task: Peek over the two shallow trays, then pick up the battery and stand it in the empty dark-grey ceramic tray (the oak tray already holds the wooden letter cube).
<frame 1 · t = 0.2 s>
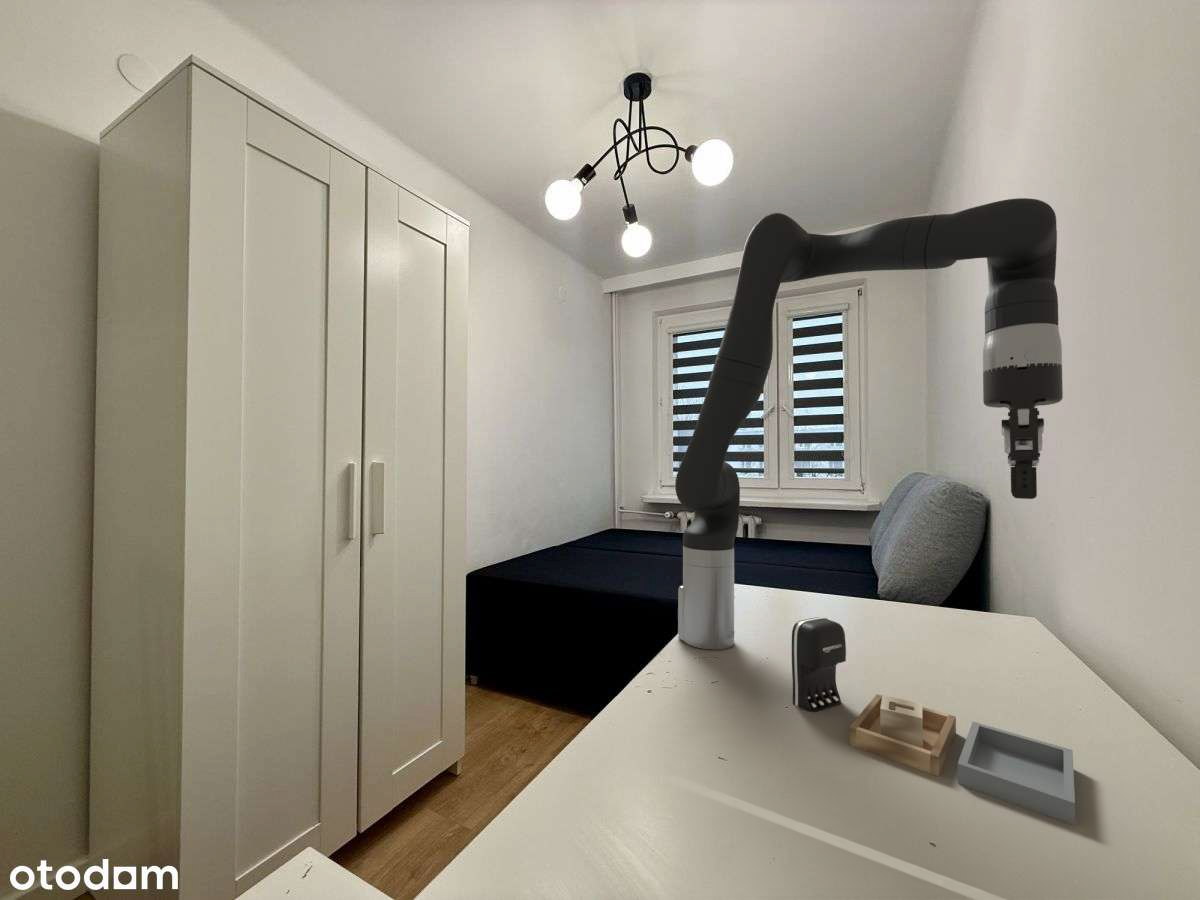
hand: (1023, 496, 61), 28 cm above the table, fingers open, 8 cm apart
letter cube: (901, 741, 56), point 1 cm above the table, touching oak tray
oak tray: (904, 743, 57), on the table
slate tray: (1017, 781, 50), on the table
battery: (820, 710, 65), on the table
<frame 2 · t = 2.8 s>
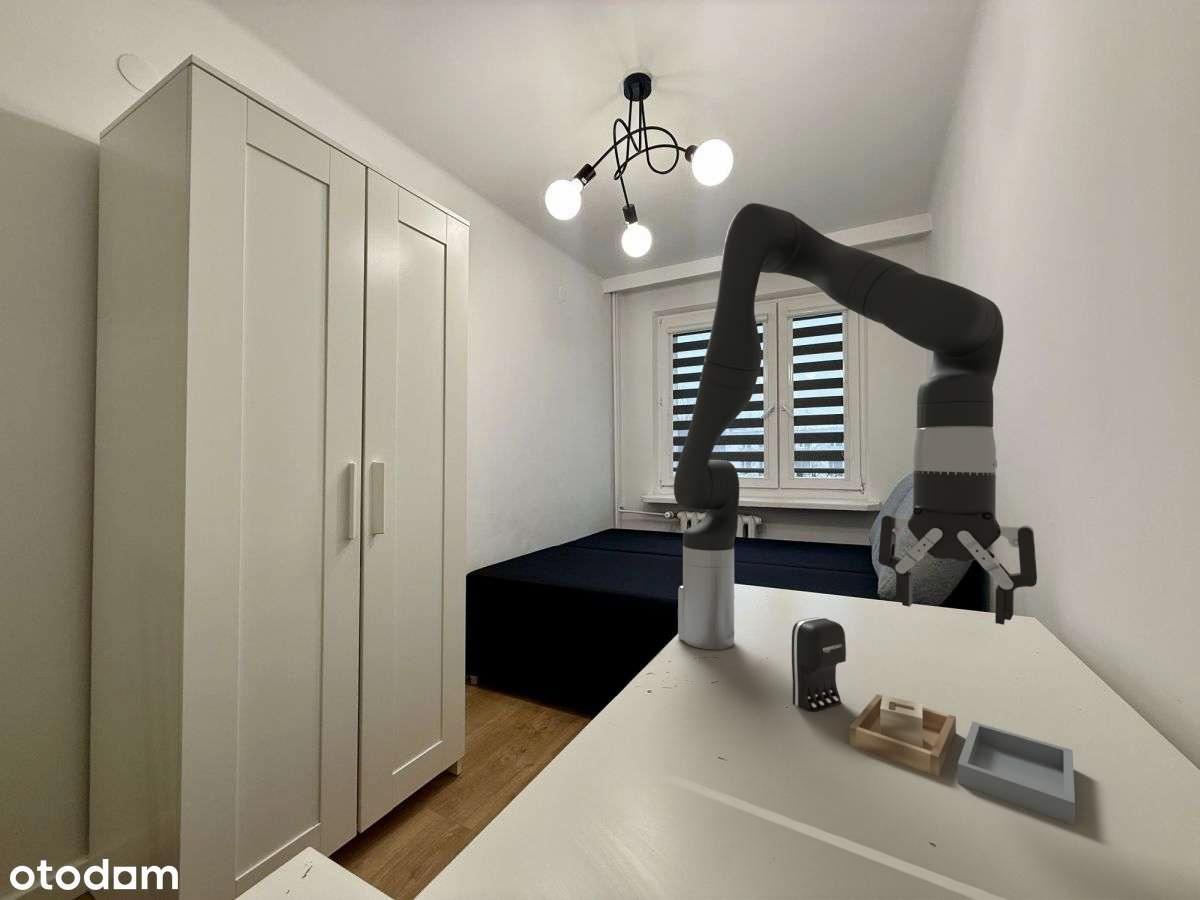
hand: (951, 613, 55), 16 cm above the table, fingers open, 8 cm apart
nothing on the table moved.
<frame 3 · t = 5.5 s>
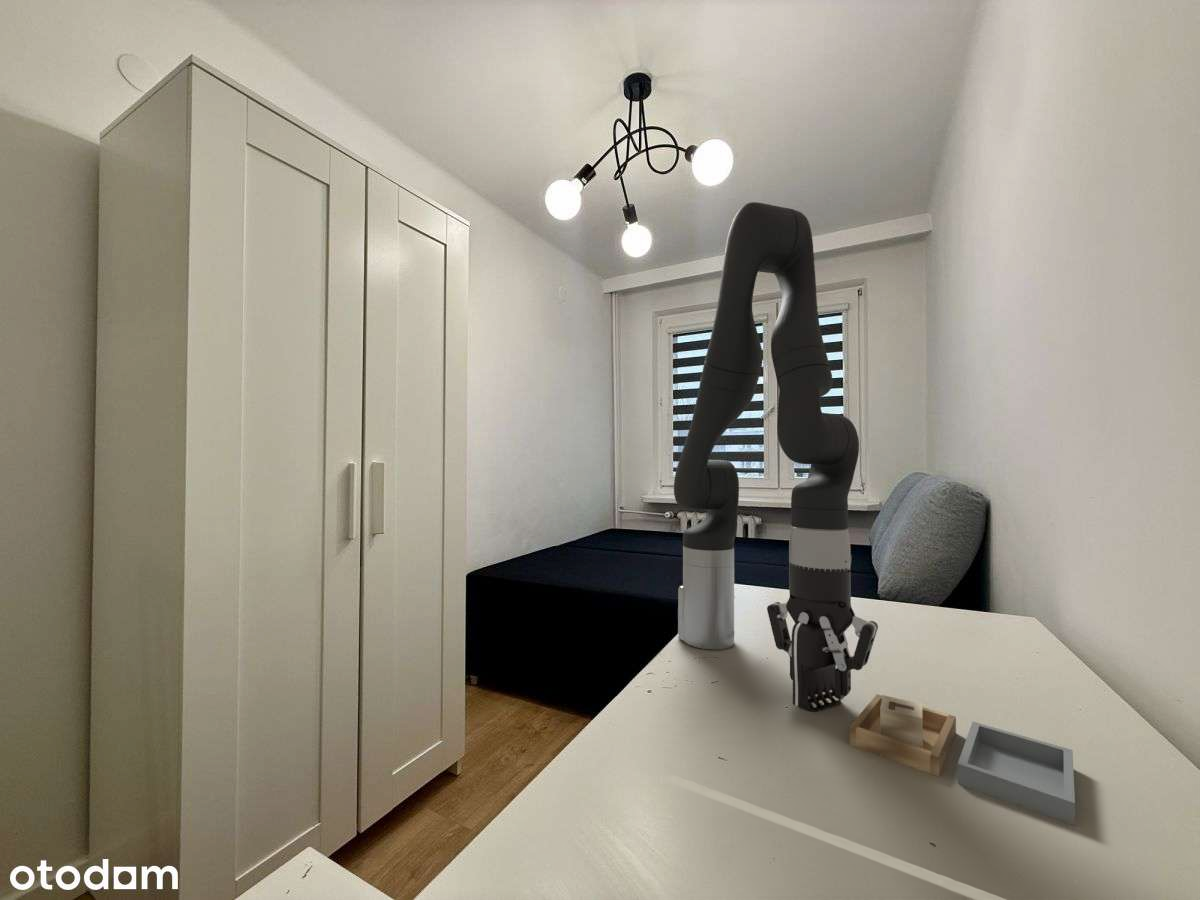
hand: (819, 690, 66), 2 cm above the table, fingers closed on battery, 4 cm apart
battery: (820, 710, 65), on the table, touching gripper
everything else where it was.
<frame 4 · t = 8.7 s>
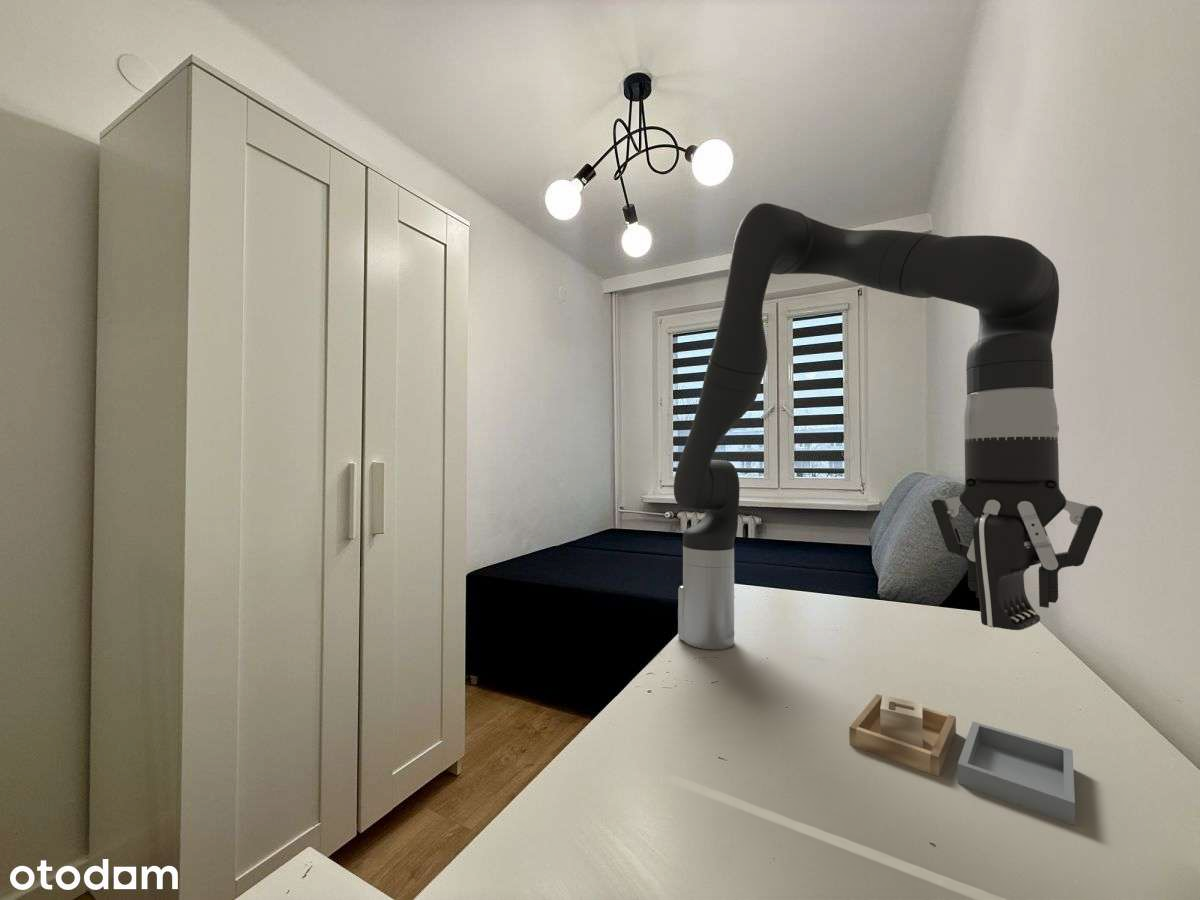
hand: (1011, 600, 51), 18 cm above the table, fingers closed on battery, 4 cm apart
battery: (1016, 627, 51), point 16 cm above the table, touching gripper
everything else where it was.
when the fingers open (4 cm above the table, at t = 12.0 s): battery stays where it is, resting on slate tray.
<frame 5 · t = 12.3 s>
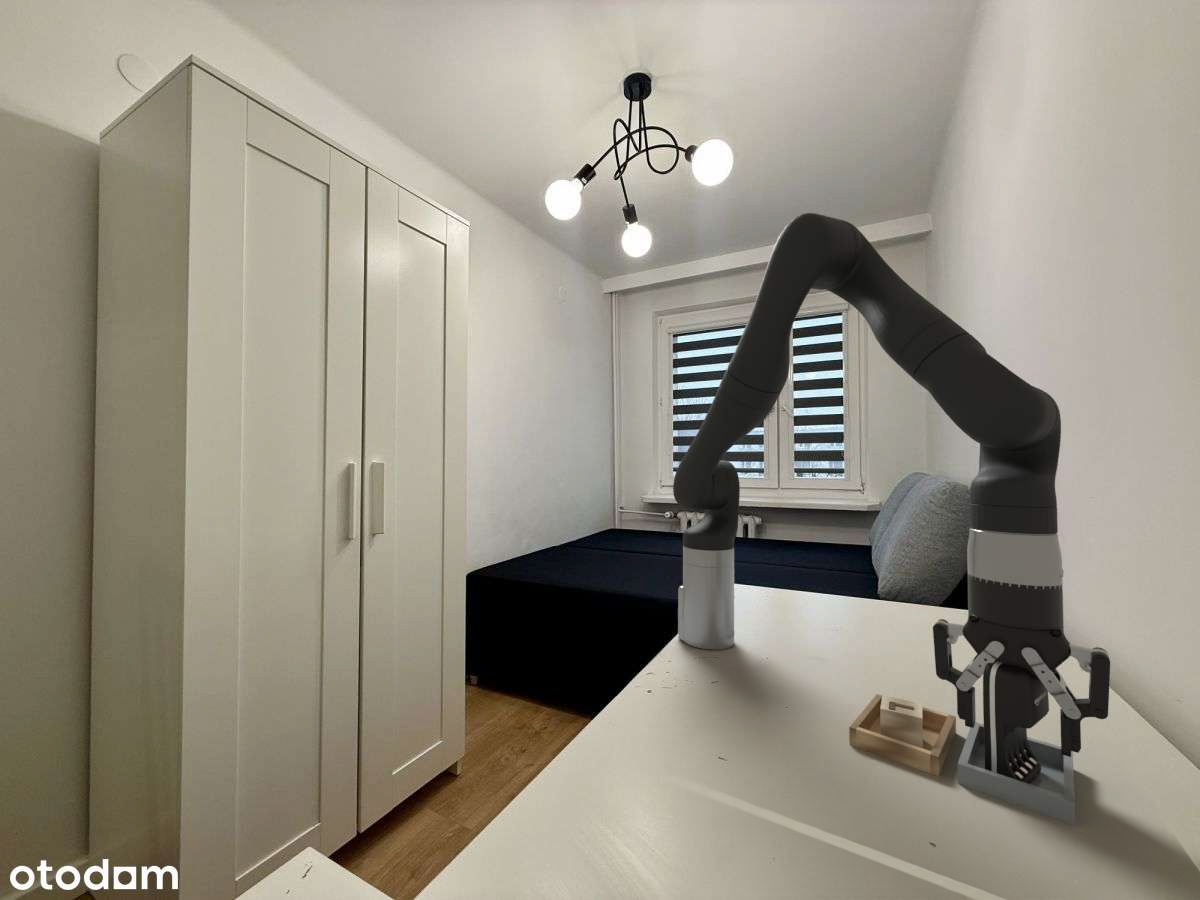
hand: (1016, 737, 50), 4 cm above the table, fingers open, 7 cm apart
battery: (1018, 778, 50), resting on slate tray
everything else where it was.
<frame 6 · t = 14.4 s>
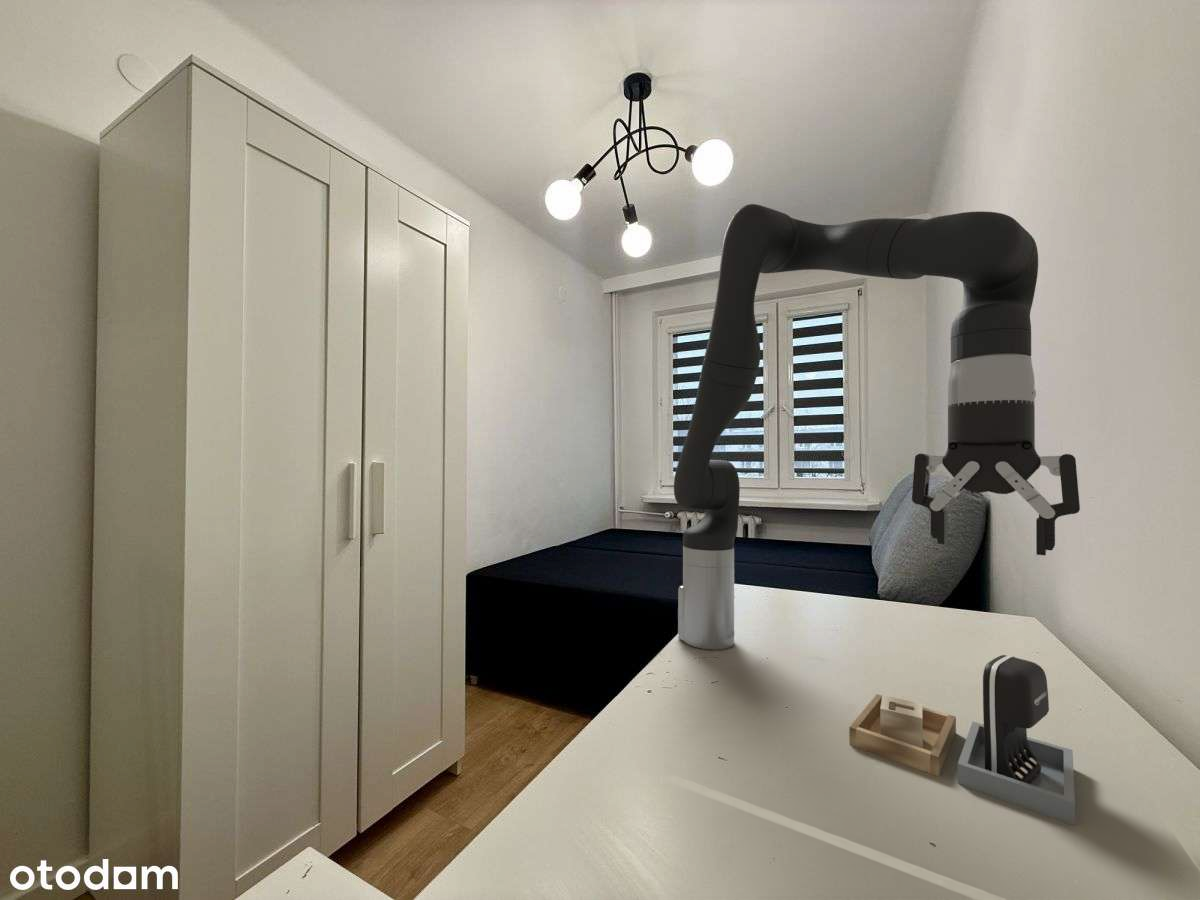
hand: (989, 548, 54), 23 cm above the table, fingers open, 8 cm apart
nothing on the table moved.
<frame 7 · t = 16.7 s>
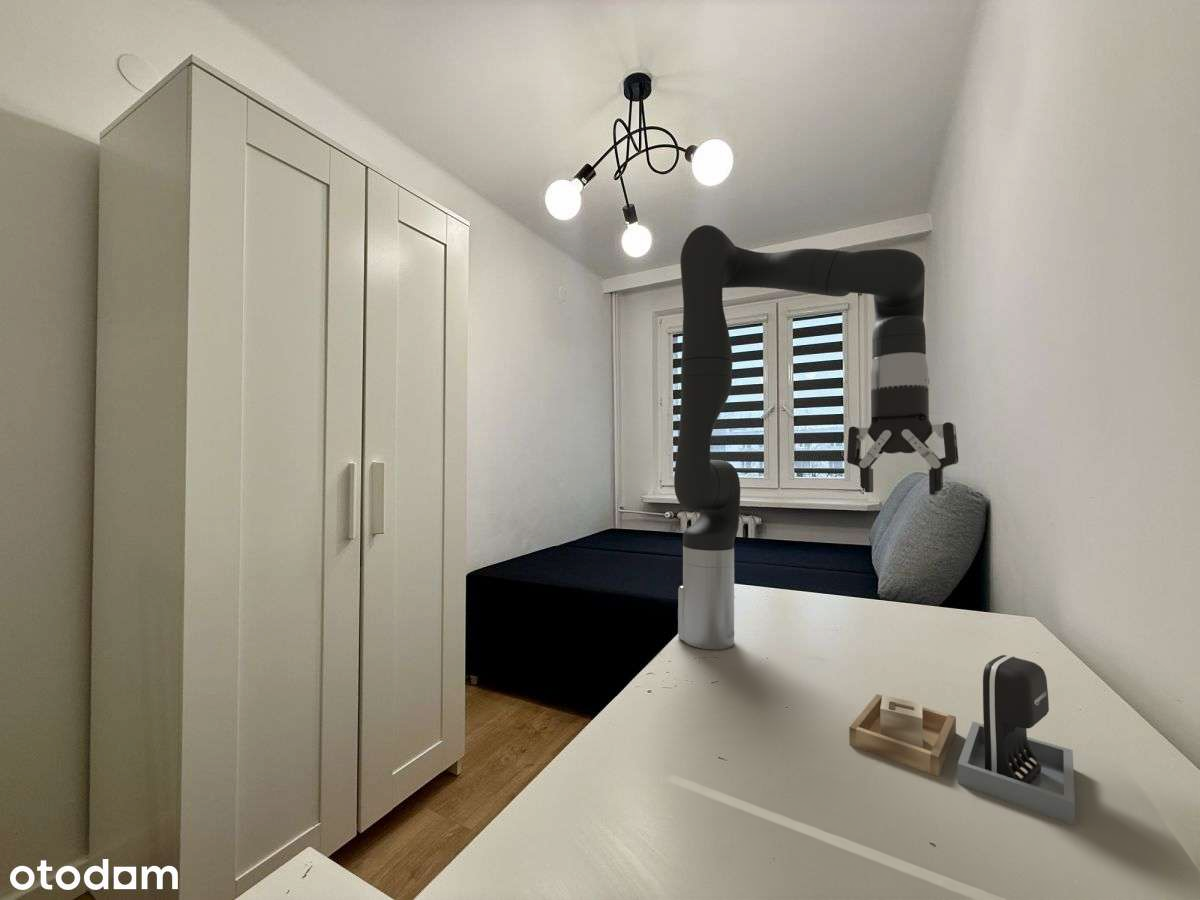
hand: (900, 493, 75), 28 cm above the table, fingers open, 8 cm apart
nothing on the table moved.
at the end: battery inside the target area on the slate tray (0.1 cm from its centre), point 0.4 cm above the slate tray's base; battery tilted 0°; the gripper is holding nothing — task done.
